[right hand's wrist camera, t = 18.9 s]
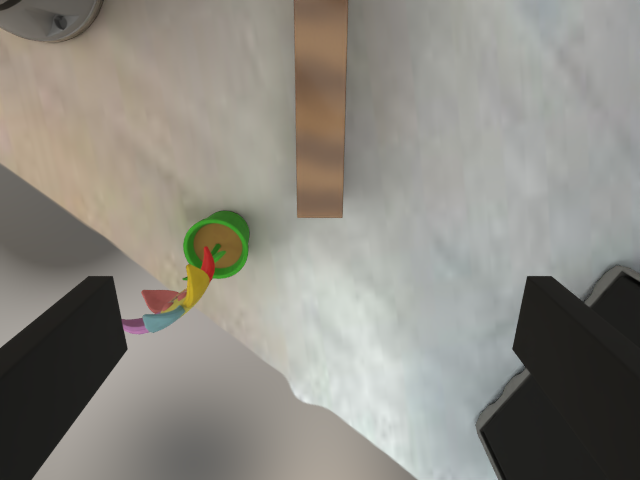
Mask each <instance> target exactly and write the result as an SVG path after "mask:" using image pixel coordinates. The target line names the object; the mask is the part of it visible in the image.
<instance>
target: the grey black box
mask: <svg viewBox="0 0 640 480" xmlns="http://www.w3.org/2000/svg"><path fill="white" fill-rule="evenodd" d="M584 303H585V304H586V305H587V306H589V307H590V308H591V309H592V310H594V311H595V312H596V313H597V314H598V315H600V316H601V317H602V318H603V319H605V320H606V321H607V322H608V323H609V324H611V325H612V326H613V327H614V328H616V329H617V330H618V331H619V332H621V333H622V334H623V335H624V336H625V337H627V338H628V339H629V340H630V341H632V342H633V343H634V344H635V345H637V346H638V347H639V348H640V274H639V273H637V272H636V271H634V270H632V269H630V268H628V267H623V266H618V265H617V266H615V267H614V268H612V269H610V270H609V271H607V272H606V273H605V274H604V275H603V276H602V277H601V278H600V280H599V281H598V282H597V283H596V284H595V286H594V289H593V292H592V294H591V295H590V296H589V298H588V299H587V300H586V301H585V302H584ZM476 429H477V434H478V436H479V438H480V440H481V443H482V445H483V447H484V449H485V451H486V454H487V456H488V458H489V460H490V462H491V464H492V467H493V469H494V471H495V473H496V475H497V478H498V480H608V478H607V477H606V476H605V474H604V473H603V472H602V470H601V469H600V467H599V466H598V465H597V463H596V462H595V461H594V459H593V458H592V457H591V455H590V454H589V453H588V451H587V450H586V448H585V447H584V446H583V444H582V443H581V442H580V440H579V439H578V438H577V436H576V435H575V434H574V432H573V431H572V429H571V428H570V427H569V425H568V424H567V423H566V421H565V420H564V419H563V417H562V416H561V415H560V413H559V412H558V410H557V409H556V408H555V406H554V405H553V404H552V402H551V401H550V400H549V398H548V397H547V396H546V394H545V393H544V391H543V390H542V389H541V387H540V386H539V385H538V383H537V382H536V381H535V379H534V378H533V377H532V375H531V374H530V372H529V371H528V370H527V368H525V370H524V371H523V372H522V373H521V374H518V375H516V376H514V377H513V378H512V379H511V380H510V381H509V383H508V384H507V385H506V386H505V388H504V391H503V394H502V396H501V397H500V398H499V399H498V400H497V401H496V402H495V403H494V404H491V405H489V406H487V408H486V409H485V410H484V411H483V412H482V413H481V414H480V416H479V418H478V421H477V423H476Z"/></svg>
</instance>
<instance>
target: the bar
mask: <svg viewBox="0 0 640 480" xmlns="http://www.w3.org/2000/svg"><path fill="white" fill-rule="evenodd" d="M347 26H348V0H294V33H295V98H296V163H297V217H298V218H342V216H343V178H344V140H345V102H346V64H347Z"/></svg>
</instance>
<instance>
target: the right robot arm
mask: <svg viewBox="0 0 640 480" xmlns="http://www.w3.org/2000/svg"><path fill="white" fill-rule="evenodd" d="M102 2H103V0H0V28H2V29H4V30H6V31H8V32H10V33H12V34H14V35H17V36H19V37H22V38H26V39H29V40H35V41H41V42H61V41H65V40H69V39H71V38H74V37H76V36H78V35H79V34H81V33H82V32H84V31H85V30H86V29H87V28H88V27H89V26H90V25H91V24H92V22H93V21H94V20H95V18H96V17H97V15H98V13H99V11H100V8H101V5H102ZM126 351H127V344H126V339H125V334H124V329H123V324H122V319H121V314H120V309H119V304H118V299H117V295H116V290H115V285H114V280H113V276H88V277H87V278H86V279H85V280H83V281H82V282H81V283H80V284H78V285H77V286H76V287H75V288H74V289H72V290H71V291H70V292H69V293H67V294H66V295H65V296H64V297H63V298H61V299H60V300H59V301H58V302H56V303H55V304H54V305H53V306H51V307H50V308H49V309H48V310H46V311H45V312H44V313H43V314H42V315H40V316H39V317H38V318H37V319H35V320H34V321H33V322H32V323H31V324H29V325H28V326H27V327H26V328H24V329H23V330H22V331H21V332H19V333H18V334H17V335H16V336H15V337H13V338H12V339H11V340H10V341H8V342H7V343H6V344H5V345H3V346H2V347H1V348H0V480H32V478H33V477H34V476H35V474H36V473H37V472H38V470H39V469H40V467H41V466H42V465H43V463H44V462H45V461H46V459H47V458H48V457H49V455H50V454H51V452H52V451H53V450H54V448H55V447H56V446H57V444H58V443H59V442H60V440H61V439H62V438H63V436H64V435H65V434H66V432H67V431H68V429H69V428H70V427H71V425H72V424H73V423H74V421H75V420H76V419H77V417H78V416H79V415H80V413H81V412H82V410H83V409H84V408H85V406H86V405H87V404H88V402H89V401H90V400H91V398H92V397H93V396H94V394H95V393H96V391H97V390H98V389H99V387H100V386H101V385H102V383H103V382H104V381H105V379H106V378H107V376H108V375H109V374H110V372H111V371H112V370H113V368H114V367H115V366H116V364H117V363H118V362H119V360H120V359H121V358H122V356H123V355H124V353H125V352H126ZM513 351H514V352H515V353H516V355H517V356H518V358H519V359H520V360H521V362H522V363H523V364H524V366H525V367H526V368H527V370H528V371H529V372H530V374H531V375H532V377H533V378H534V379H535V381H536V382H537V383H538V385H539V386H540V387H541V389H542V390H543V391H544V393H545V394H546V396H547V397H548V398H549V400H550V401H551V402H552V404H553V405H554V406H555V408H556V409H557V410H558V412H559V413H560V415H561V416H562V417H563V419H564V420H565V421H566V423H567V424H568V425H569V427H570V428H571V429H572V431H573V432H574V434H575V435H576V436H577V438H578V439H579V440H580V442H581V443H582V444H583V446H584V447H585V448H586V450H587V451H588V453H589V454H590V455H591V457H592V458H593V459H594V461H595V462H596V463H597V465H598V466H599V467H600V469H601V470H602V472H603V473H604V474H605V476H606V477H607V478H608V480H640V348H639V347H638V346H637V345H635V344H634V343H633V342H632V341H630V340H629V339H628V338H627V337H625V336H624V335H623V334H622V333H621V332H619V331H618V330H617V329H616V328H614V327H613V326H612V325H611V324H609V323H608V322H607V321H606V320H605V319H603V318H602V317H601V316H600V315H598V314H597V313H596V312H595V311H594V310H592V309H591V308H590V307H589V306H587V305H586V304H585V303H584V302H582V301H581V300H580V299H579V298H578V297H576V296H575V295H574V294H573V293H571V292H570V291H569V290H568V289H566V288H565V287H564V286H563V285H562V284H560V283H559V282H558V281H557V280H555V279H554V278H553V277H552V276H527V280H526V285H525V290H524V295H523V299H522V304H521V309H520V314H519V319H518V324H517V329H516V334H515V339H514V344H513Z"/></svg>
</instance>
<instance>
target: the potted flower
mask: <svg viewBox="0 0 640 480" xmlns="http://www.w3.org/2000/svg"><path fill="white" fill-rule="evenodd" d="M248 241H249V228H248V225H247V223H246V222H245V220H244V219H243V218H242V217H241V216H239V215H238V214H236V213H234V212H230V211H219V212H216V213H214V214H212V215H211V216H209V217H208V218H206V219H203V220H201V221H199V222H198V223H196V224H195V225H194V226H192V227H191V228H190V229H189V231H188V232H187V234H186V236H185V238H184V244H183V247H184V254H185V257H186V259H187V261H188V263H189V264H188V265H187V266H186V270H187V277H185V278H183V280H188V282H187V288H186V289H185V290H183V291H182V292H181V293H178V292H175V291H169V290H143V291H142V295H143V297H144V299H145V301H146V304H147V306H148V307H149V309H150V310H151V311H152V312H153V313H155V314H145V315H143V318H139V319H132V320H125V319H122V324H123V329H124V330H125V331H127V332H129V333H132V334H144V333H148V332H153V333H154V332H156V331H159V330H162V329H164V328H165V327H167V326H169V325H170V324H172V323H173V322H175V321H176V320H177V319H179V318H180V317H181V316H183V315H184V314H185V313H187V312H188V311H189V310H190V309H191V308H192V307H193V306H194V305H195V304H196V303H197V302H198V301H199V300H200V298H201V297H202V295H203V294H204V292H205V291H206V289H207V287H208V285H209V283H210V281H211V280H212V278H217V279H221V278H227V277H230V276H232V275H234V274H236V273H237V272H239V271H240V270H241V269H242V267H243V266H244V264H245V262H246V260H247V256H248Z"/></svg>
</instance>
